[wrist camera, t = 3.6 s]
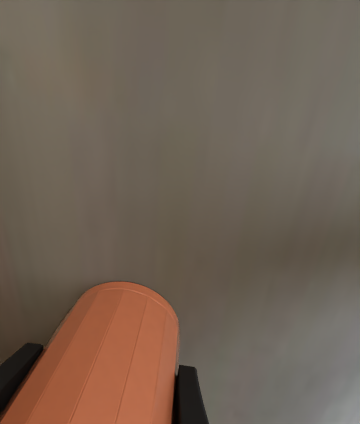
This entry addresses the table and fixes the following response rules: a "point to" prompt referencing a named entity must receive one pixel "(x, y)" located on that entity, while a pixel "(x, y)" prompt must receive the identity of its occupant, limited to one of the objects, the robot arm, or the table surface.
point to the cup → (105, 363)
